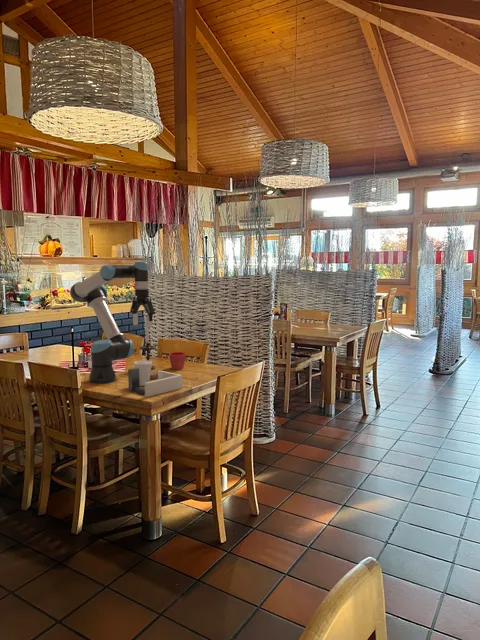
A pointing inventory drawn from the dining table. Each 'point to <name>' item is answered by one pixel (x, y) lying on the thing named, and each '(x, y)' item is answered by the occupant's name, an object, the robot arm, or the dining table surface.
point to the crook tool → (134, 381)
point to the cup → (143, 371)
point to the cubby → (164, 383)
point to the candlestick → (147, 345)
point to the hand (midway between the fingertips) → (142, 325)
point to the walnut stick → (153, 376)
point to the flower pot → (177, 360)
